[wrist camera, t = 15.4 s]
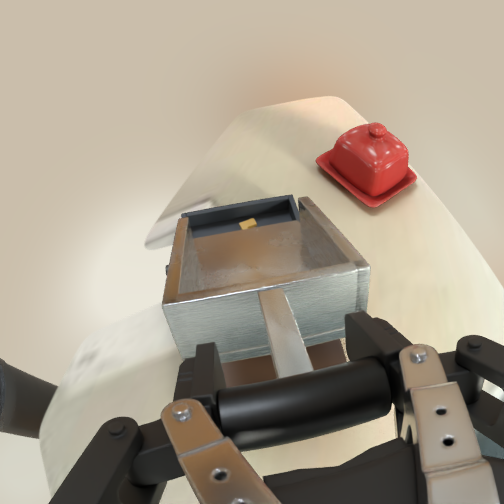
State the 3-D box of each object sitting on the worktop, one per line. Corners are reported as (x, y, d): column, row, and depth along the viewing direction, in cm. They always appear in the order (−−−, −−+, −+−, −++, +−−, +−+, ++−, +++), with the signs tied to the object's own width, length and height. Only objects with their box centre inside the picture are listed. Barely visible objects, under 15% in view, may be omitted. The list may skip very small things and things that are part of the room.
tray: (191, 293, 33) (185, 282, 31) (185, 226, 38) (181, 213, 36) (312, 271, 34) (315, 258, 32) (291, 208, 39) (292, 194, 37)
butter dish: (369, 217, 38) (385, 166, 30) (310, 166, 43) (314, 115, 36) (418, 183, 41) (436, 138, 34) (363, 141, 46) (372, 96, 39)
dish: (422, 436, 10) (460, 364, 8) (186, 491, 10) (137, 440, 7) (298, 227, 30) (294, 177, 27) (192, 246, 29) (180, 196, 27)
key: (275, 259, 34) (275, 256, 34) (252, 268, 34) (252, 265, 33) (253, 220, 38) (253, 217, 37) (232, 228, 37) (231, 225, 37)
